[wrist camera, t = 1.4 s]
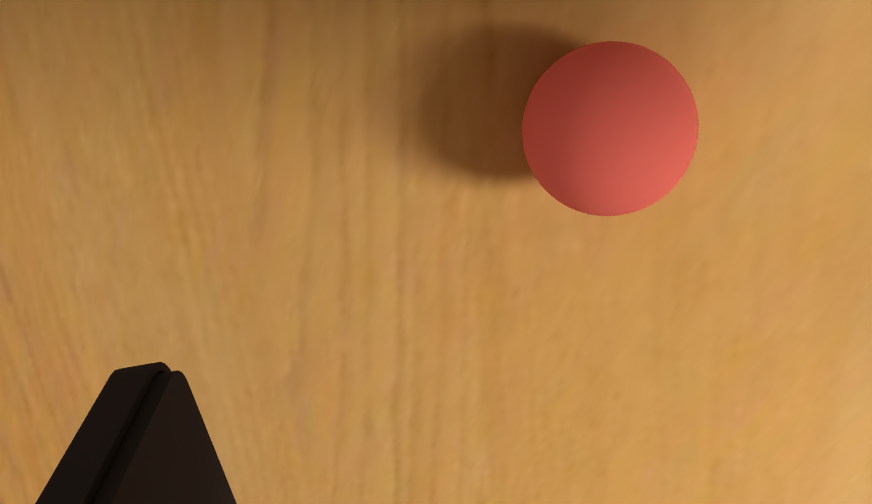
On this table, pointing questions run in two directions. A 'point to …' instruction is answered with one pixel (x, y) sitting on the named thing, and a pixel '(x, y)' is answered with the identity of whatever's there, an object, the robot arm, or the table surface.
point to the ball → (610, 128)
